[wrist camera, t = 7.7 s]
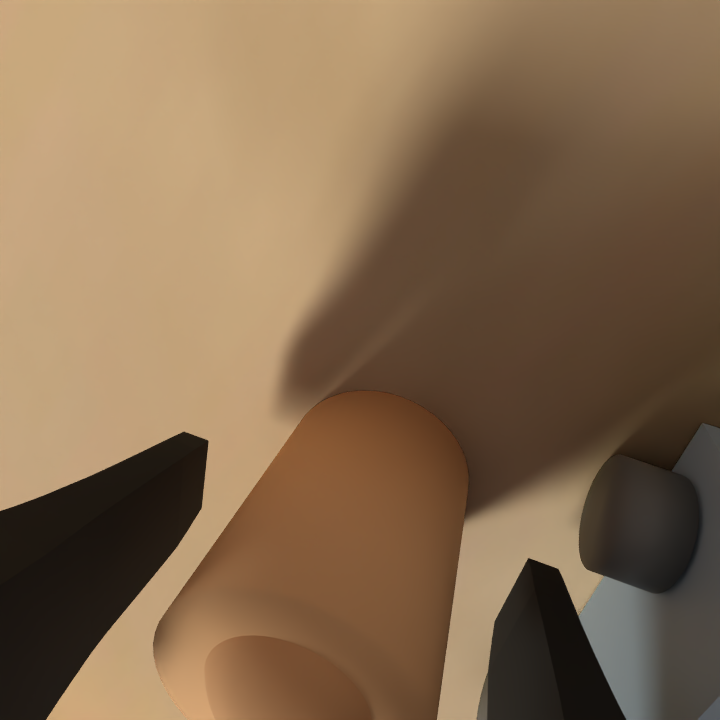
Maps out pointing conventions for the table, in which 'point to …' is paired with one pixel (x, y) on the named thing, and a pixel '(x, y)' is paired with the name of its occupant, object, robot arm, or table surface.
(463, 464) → the tan hollow cylinder
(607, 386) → the table surface
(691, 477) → the box
